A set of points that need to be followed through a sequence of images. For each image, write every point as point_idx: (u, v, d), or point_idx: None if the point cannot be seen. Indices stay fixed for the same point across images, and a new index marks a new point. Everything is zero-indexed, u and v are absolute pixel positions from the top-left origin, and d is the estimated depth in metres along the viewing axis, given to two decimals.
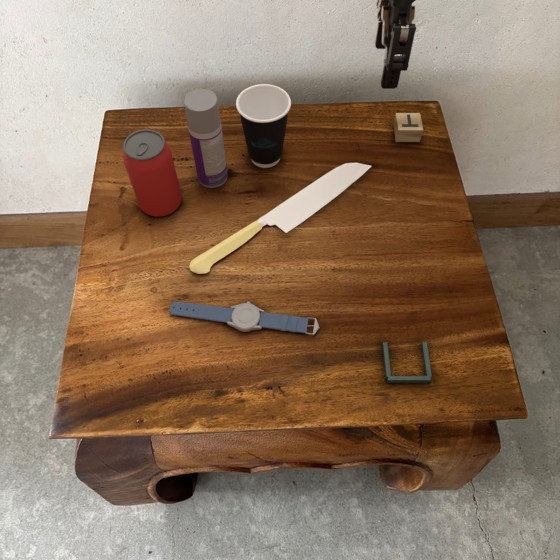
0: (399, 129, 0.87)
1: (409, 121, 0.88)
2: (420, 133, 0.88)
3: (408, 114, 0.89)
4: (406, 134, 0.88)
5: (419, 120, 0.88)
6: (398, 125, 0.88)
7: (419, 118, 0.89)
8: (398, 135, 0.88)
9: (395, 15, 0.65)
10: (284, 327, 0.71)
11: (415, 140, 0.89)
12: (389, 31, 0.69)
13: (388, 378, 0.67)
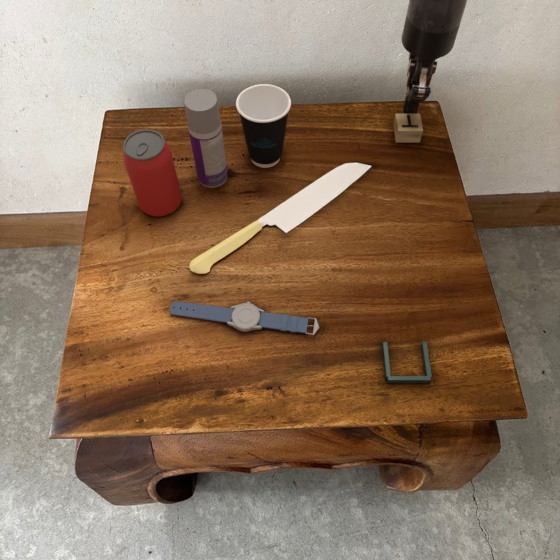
0: (399, 130, 0.87)
1: (409, 122, 0.88)
2: (420, 134, 0.88)
3: (407, 115, 0.89)
4: (406, 135, 0.88)
5: (419, 121, 0.88)
6: (398, 126, 0.88)
7: (419, 119, 0.89)
8: (398, 136, 0.88)
9: (419, 69, 0.79)
10: (284, 327, 0.71)
11: (415, 141, 0.89)
12: (414, 80, 0.82)
13: (388, 378, 0.67)
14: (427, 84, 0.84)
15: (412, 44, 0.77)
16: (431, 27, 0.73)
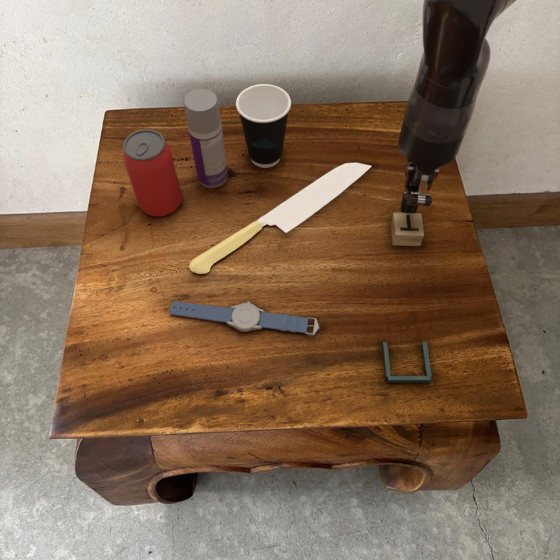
0: (396, 233, 0.77)
1: (408, 223, 0.77)
2: (420, 238, 0.77)
3: (407, 215, 0.78)
4: (405, 239, 0.77)
5: (420, 223, 0.78)
6: (395, 229, 0.77)
7: (420, 220, 0.78)
8: (395, 239, 0.77)
9: (418, 177, 0.69)
10: (284, 327, 0.71)
11: (415, 244, 0.78)
12: (413, 184, 0.72)
13: (388, 378, 0.67)
14: (428, 187, 0.73)
15: (411, 151, 0.67)
16: (433, 137, 0.63)
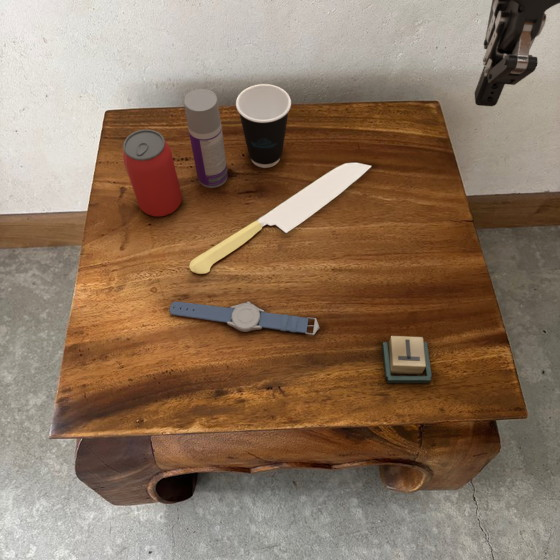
0: (394, 364, 0.66)
1: (407, 351, 0.67)
2: (422, 368, 0.67)
3: (406, 340, 0.68)
4: (404, 369, 0.67)
5: (421, 350, 0.67)
6: (393, 357, 0.67)
7: (421, 346, 0.68)
8: (393, 369, 0.67)
9: (519, 25, 0.46)
10: (284, 327, 0.71)
11: (415, 373, 0.68)
12: (504, 47, 0.50)
13: (388, 378, 0.67)
14: None
15: None
16: None
